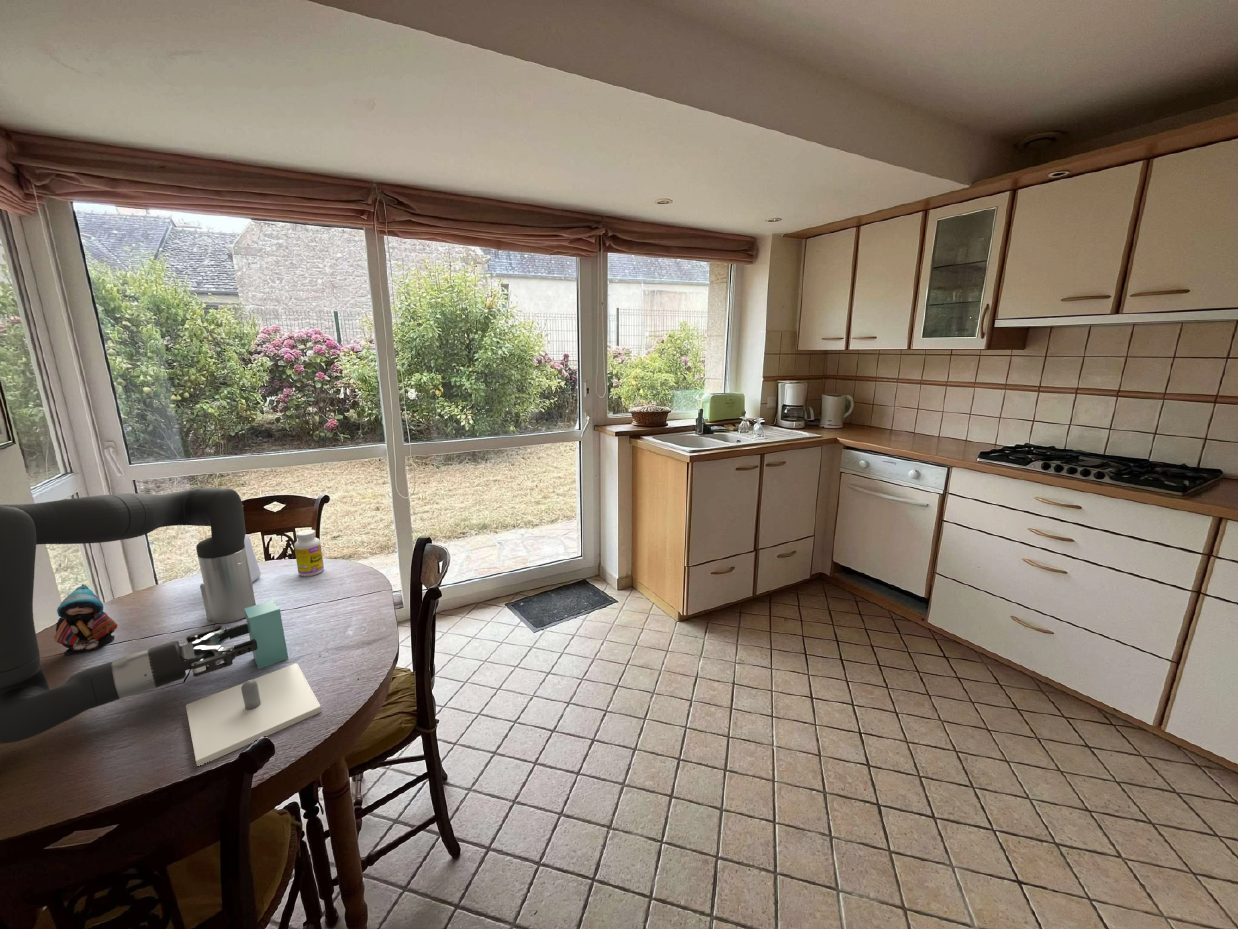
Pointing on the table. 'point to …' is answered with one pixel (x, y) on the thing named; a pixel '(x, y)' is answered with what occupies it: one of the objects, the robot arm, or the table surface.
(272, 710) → the stub base
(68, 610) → the figurine
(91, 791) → the table surface
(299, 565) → the supplement bottle
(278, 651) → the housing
